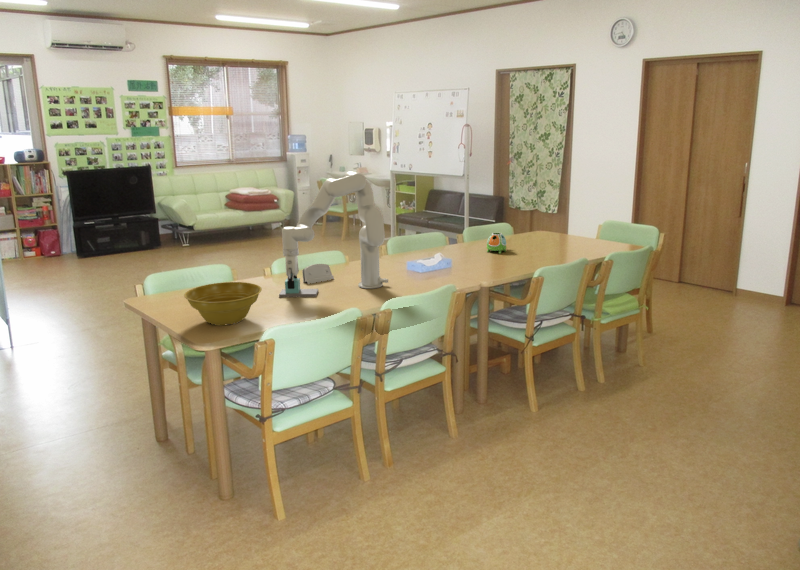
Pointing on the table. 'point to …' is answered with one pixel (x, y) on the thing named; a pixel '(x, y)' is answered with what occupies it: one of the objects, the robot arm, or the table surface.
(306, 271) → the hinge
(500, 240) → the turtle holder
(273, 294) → the table surface
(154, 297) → the table surface
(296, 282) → the housing
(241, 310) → the planter bowl
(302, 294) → the base plate
